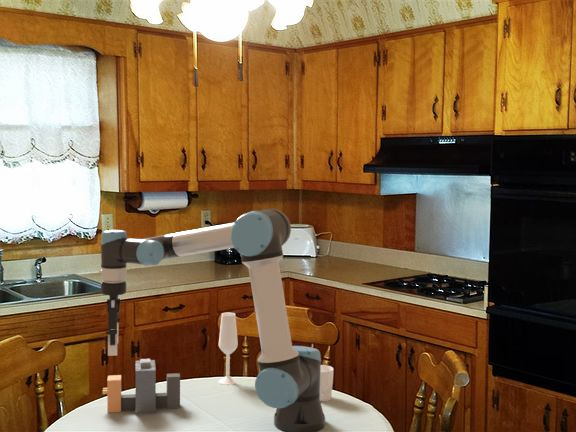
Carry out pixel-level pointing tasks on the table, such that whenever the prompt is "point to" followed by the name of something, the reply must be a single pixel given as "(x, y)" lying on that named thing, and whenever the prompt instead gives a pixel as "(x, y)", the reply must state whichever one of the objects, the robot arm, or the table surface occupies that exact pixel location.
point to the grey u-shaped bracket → (145, 386)
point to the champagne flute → (228, 342)
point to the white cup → (326, 382)
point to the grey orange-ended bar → (128, 402)
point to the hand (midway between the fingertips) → (113, 349)
